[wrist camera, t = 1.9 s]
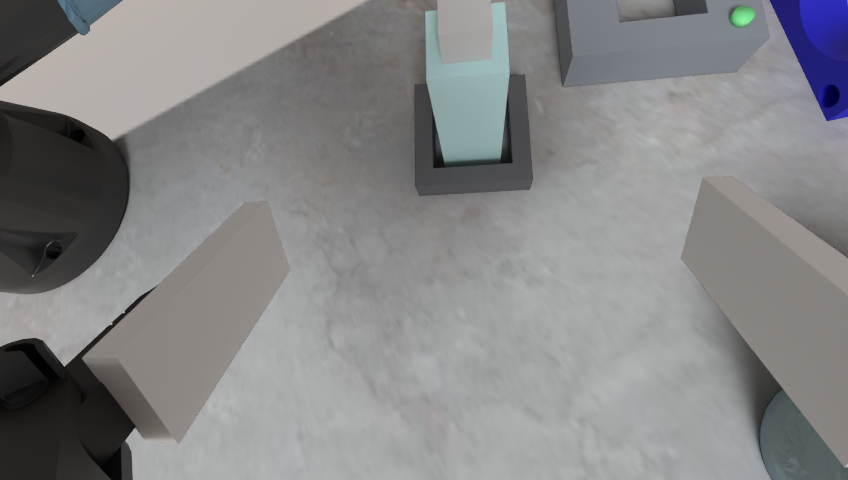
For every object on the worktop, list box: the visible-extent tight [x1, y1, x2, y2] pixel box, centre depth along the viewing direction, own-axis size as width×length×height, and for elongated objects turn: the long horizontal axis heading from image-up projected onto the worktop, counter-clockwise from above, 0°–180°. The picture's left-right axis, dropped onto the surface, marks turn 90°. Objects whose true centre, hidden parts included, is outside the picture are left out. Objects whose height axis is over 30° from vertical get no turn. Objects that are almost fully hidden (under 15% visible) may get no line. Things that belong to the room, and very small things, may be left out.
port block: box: [554, 0, 770, 87], centre depth 29 cm, size 12×10×4 cm
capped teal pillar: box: [425, 0, 510, 168], centre depth 24 cm, size 4×4×13 cm
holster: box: [415, 75, 533, 196], centre depth 30 cm, size 8×8×2 cm
